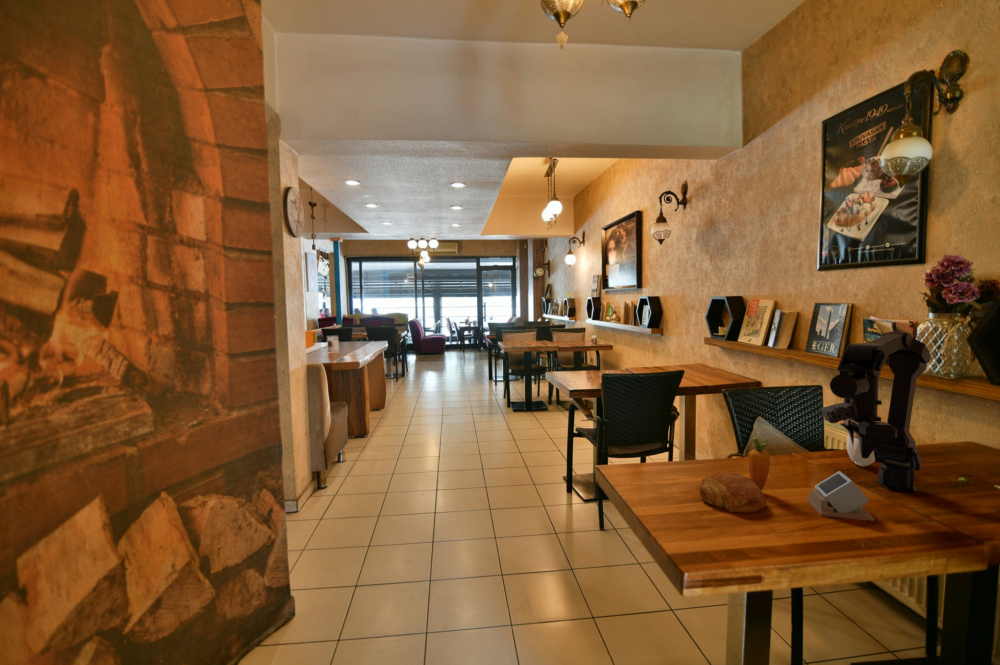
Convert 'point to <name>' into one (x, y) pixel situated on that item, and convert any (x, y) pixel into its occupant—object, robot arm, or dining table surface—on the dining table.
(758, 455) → the carrot
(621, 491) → the dining table surface
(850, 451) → the sauce bottle
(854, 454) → the orange-topped white peg
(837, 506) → the leaning socket
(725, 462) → the dining table surface
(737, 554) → the dining table surface
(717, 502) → the croissant
